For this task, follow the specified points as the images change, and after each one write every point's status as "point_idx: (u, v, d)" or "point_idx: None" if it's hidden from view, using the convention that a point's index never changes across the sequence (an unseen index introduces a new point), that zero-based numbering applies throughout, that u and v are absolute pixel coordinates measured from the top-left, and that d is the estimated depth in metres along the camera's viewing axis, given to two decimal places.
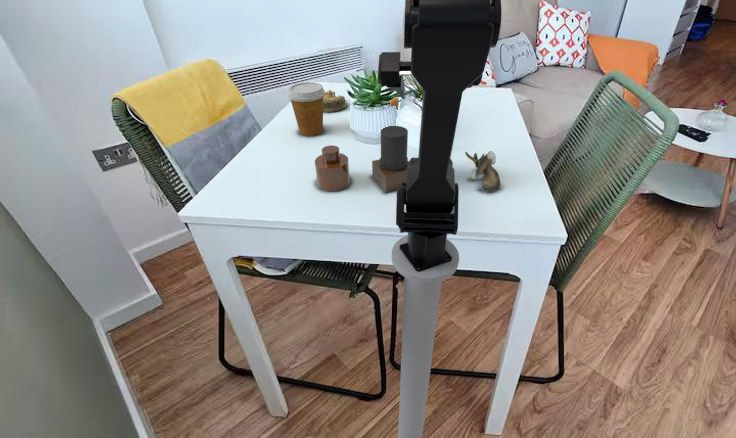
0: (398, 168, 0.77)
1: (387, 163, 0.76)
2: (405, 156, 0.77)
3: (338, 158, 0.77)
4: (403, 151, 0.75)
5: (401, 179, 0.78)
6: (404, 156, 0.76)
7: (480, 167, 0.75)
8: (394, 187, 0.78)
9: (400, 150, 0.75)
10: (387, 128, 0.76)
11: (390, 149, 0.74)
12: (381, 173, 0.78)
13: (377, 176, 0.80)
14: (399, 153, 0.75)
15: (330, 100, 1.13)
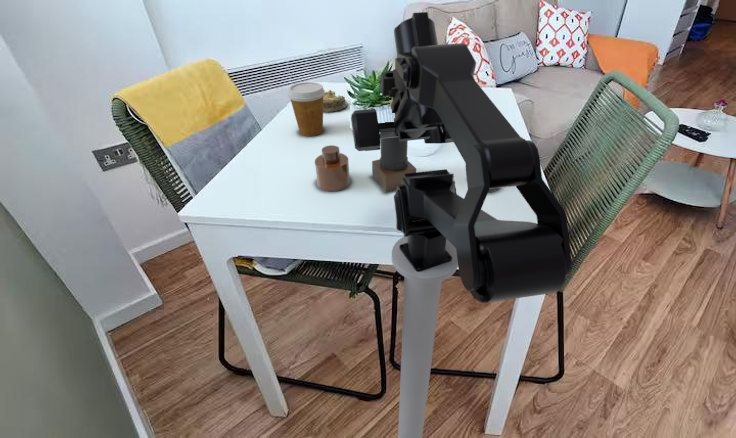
0: (398, 168, 0.77)
1: (387, 163, 0.76)
2: (405, 156, 0.77)
3: (338, 158, 0.77)
4: (403, 151, 0.75)
5: None
6: (404, 156, 0.76)
7: None
8: (394, 187, 0.78)
9: (400, 150, 0.75)
10: None
11: (390, 149, 0.74)
12: (381, 173, 0.78)
13: (377, 176, 0.80)
14: (399, 153, 0.75)
15: (330, 100, 1.13)
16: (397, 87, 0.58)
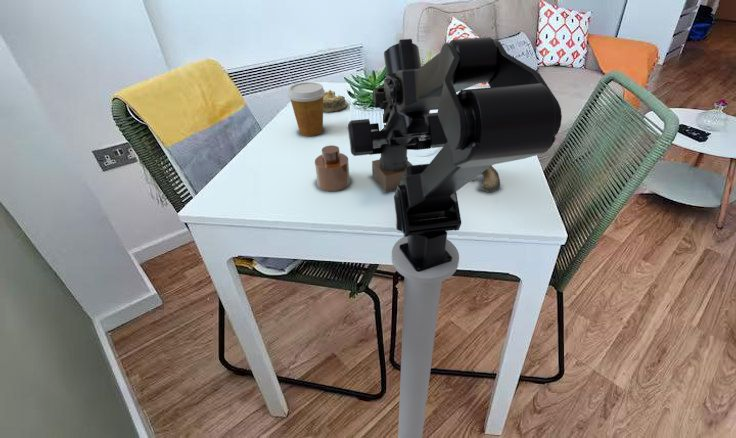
0: (398, 168, 0.77)
1: (387, 163, 0.76)
2: (405, 156, 0.77)
3: (338, 158, 0.77)
4: (403, 151, 0.75)
5: None
6: (404, 156, 0.76)
7: None
8: (394, 187, 0.78)
9: (400, 150, 0.75)
10: None
11: (390, 149, 0.74)
12: (381, 173, 0.78)
13: (377, 176, 0.80)
14: (399, 153, 0.75)
15: (330, 100, 1.13)
16: (388, 100, 0.66)
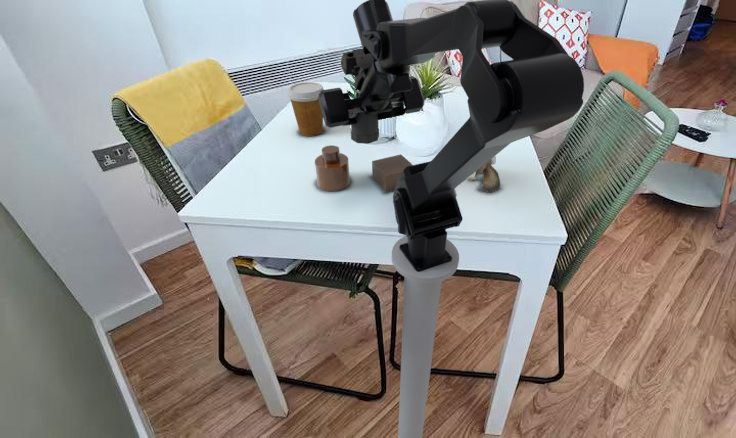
0: (372, 140, 0.74)
1: (360, 135, 0.73)
2: (377, 127, 0.74)
3: (338, 158, 0.77)
4: (375, 121, 0.73)
5: None
6: (376, 126, 0.74)
7: None
8: (394, 187, 0.78)
9: (372, 120, 0.72)
10: None
11: (363, 120, 0.71)
12: (381, 173, 0.78)
13: (377, 176, 0.80)
14: (372, 124, 0.72)
15: None
16: (359, 65, 0.63)
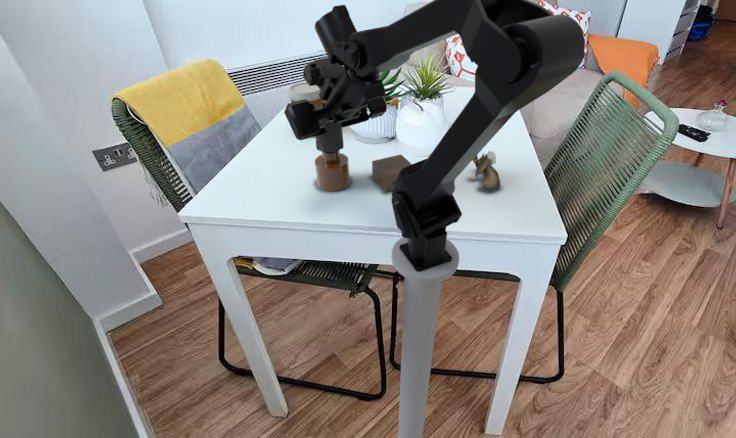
0: (338, 148, 0.75)
1: (326, 145, 0.73)
2: (342, 134, 0.75)
3: (338, 158, 0.77)
4: (340, 129, 0.73)
5: None
6: (341, 134, 0.74)
7: (480, 167, 0.75)
8: None
9: (338, 128, 0.72)
10: (317, 109, 0.73)
11: (329, 129, 0.72)
12: (381, 173, 0.78)
13: (377, 176, 0.80)
14: (338, 132, 0.73)
15: None
16: (323, 75, 0.64)
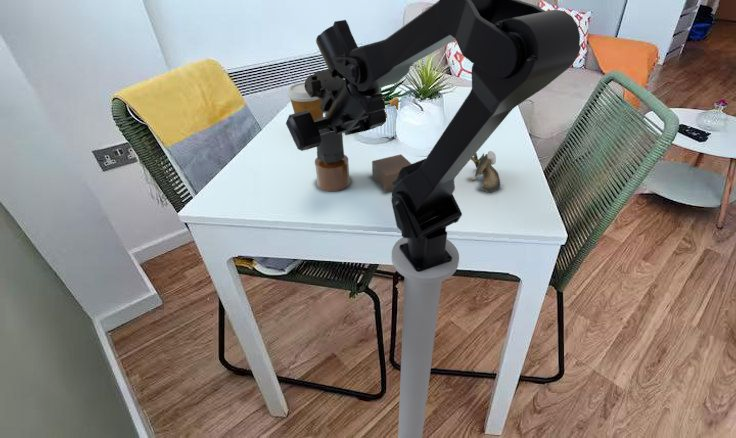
0: (339, 158, 0.76)
1: (327, 155, 0.75)
2: (342, 145, 0.76)
3: None
4: (341, 140, 0.75)
5: None
6: (342, 145, 0.76)
7: (480, 167, 0.75)
8: None
9: (338, 139, 0.74)
10: (318, 120, 0.74)
11: (329, 140, 0.73)
12: (381, 173, 0.78)
13: (377, 176, 0.80)
14: (338, 143, 0.74)
15: None
16: (324, 87, 0.65)
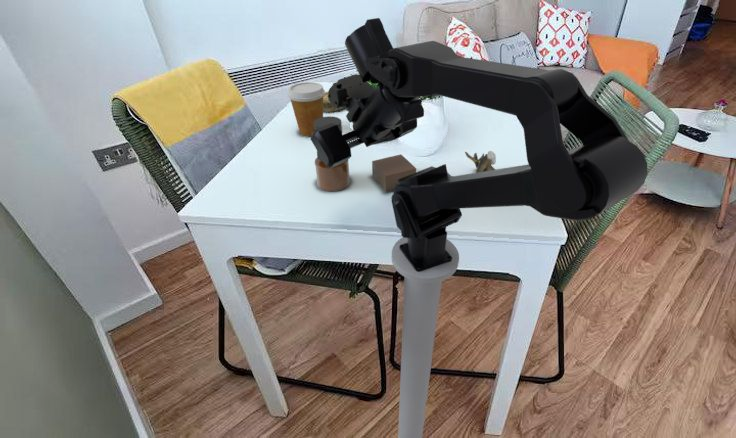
0: None
1: None
2: None
3: None
4: None
5: None
6: None
7: (480, 167, 0.75)
8: None
9: None
10: (318, 120, 0.74)
11: None
12: (381, 173, 0.78)
13: (377, 176, 0.80)
14: None
15: None
16: (351, 96, 0.58)
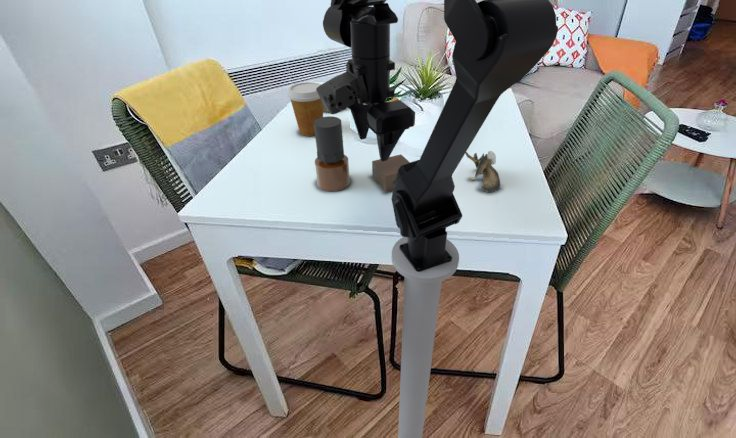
0: (339, 158, 0.76)
1: (327, 155, 0.75)
2: (342, 145, 0.76)
3: None
4: (341, 140, 0.75)
5: None
6: (342, 145, 0.76)
7: (480, 167, 0.75)
8: None
9: (338, 139, 0.74)
10: (318, 120, 0.74)
11: (329, 140, 0.73)
12: (381, 173, 0.78)
13: (377, 176, 0.80)
14: (338, 143, 0.74)
15: None
16: (347, 83, 0.55)
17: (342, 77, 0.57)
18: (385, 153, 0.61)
